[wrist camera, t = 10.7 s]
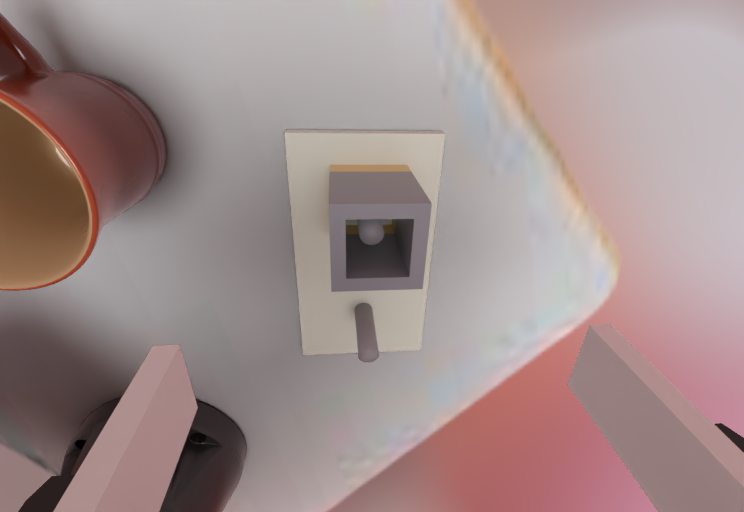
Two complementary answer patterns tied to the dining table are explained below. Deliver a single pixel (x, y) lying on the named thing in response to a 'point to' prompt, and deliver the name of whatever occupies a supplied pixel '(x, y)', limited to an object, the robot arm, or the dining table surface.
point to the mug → (64, 163)
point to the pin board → (312, 238)
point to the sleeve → (401, 238)
